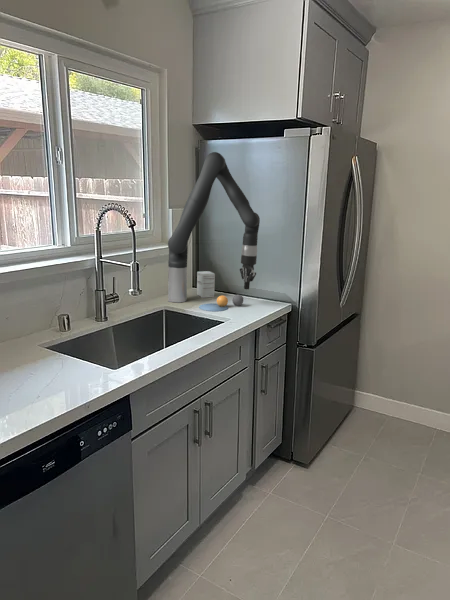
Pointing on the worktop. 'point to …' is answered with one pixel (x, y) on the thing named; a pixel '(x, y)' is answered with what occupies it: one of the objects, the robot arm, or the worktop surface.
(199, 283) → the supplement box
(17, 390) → the worktop surface
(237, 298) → the gray ball
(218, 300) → the orange ball
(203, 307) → the blue mark
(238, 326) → the worktop surface
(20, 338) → the worktop surface
